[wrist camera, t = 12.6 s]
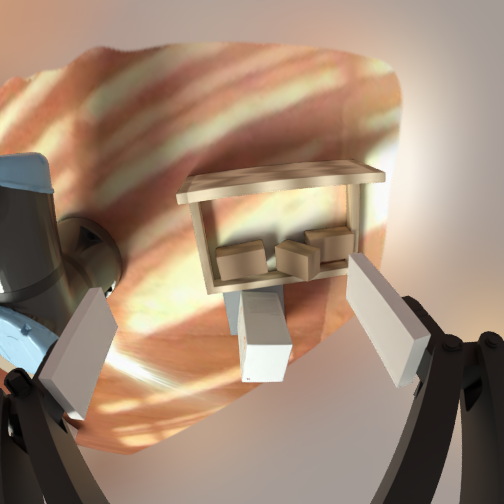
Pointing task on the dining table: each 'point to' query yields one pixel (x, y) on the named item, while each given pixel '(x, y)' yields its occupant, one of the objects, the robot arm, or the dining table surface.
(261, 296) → the small box
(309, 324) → the dining table surface
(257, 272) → the offcut
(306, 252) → the offcut
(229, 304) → the mat
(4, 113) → the dining table surface
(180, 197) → the tray
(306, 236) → the offcut
